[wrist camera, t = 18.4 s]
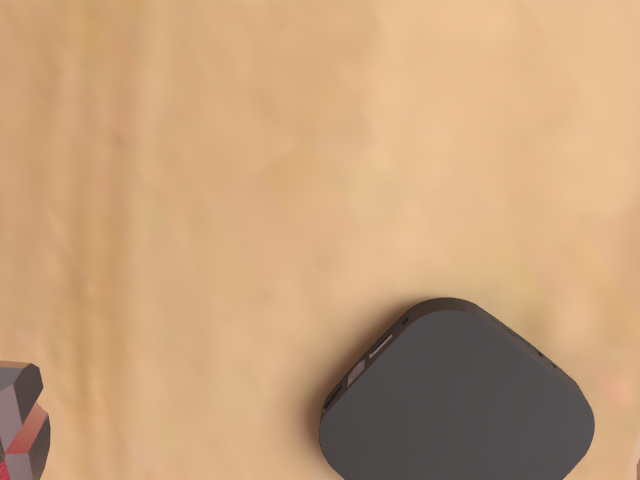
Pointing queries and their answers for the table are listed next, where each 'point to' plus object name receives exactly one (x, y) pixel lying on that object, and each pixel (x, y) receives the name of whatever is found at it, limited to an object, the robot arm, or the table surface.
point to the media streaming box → (454, 404)
